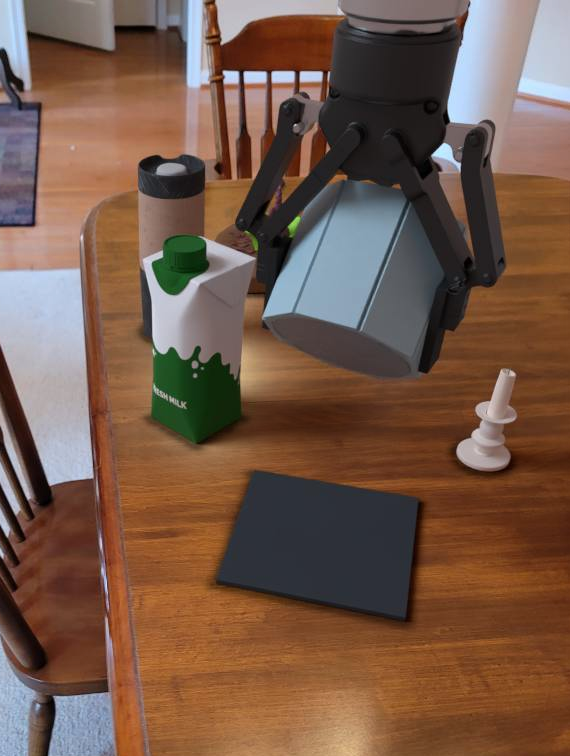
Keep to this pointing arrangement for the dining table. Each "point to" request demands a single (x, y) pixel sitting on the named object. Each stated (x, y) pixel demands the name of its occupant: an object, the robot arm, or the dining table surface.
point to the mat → (323, 544)
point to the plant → (254, 240)
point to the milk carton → (197, 333)
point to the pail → (358, 282)
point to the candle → (491, 429)
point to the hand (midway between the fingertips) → (347, 342)
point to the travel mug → (167, 210)
